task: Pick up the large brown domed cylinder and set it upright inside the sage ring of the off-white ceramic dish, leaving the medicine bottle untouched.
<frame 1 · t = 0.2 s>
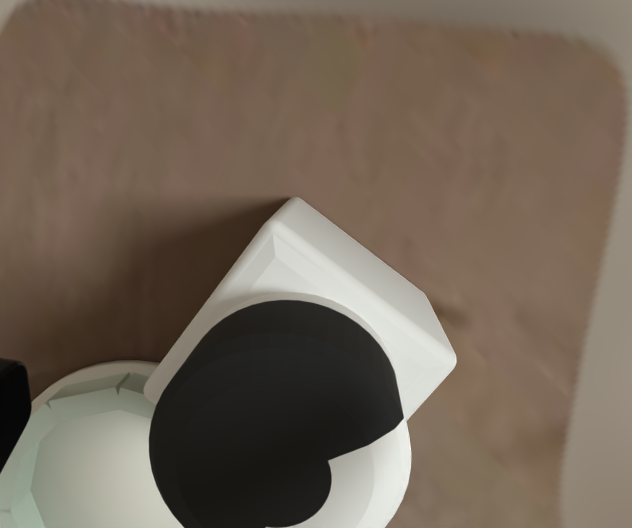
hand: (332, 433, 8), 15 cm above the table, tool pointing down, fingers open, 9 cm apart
ring dish: (143, 488, 26), on the table
medicine bottle: (311, 307, 24), on the table
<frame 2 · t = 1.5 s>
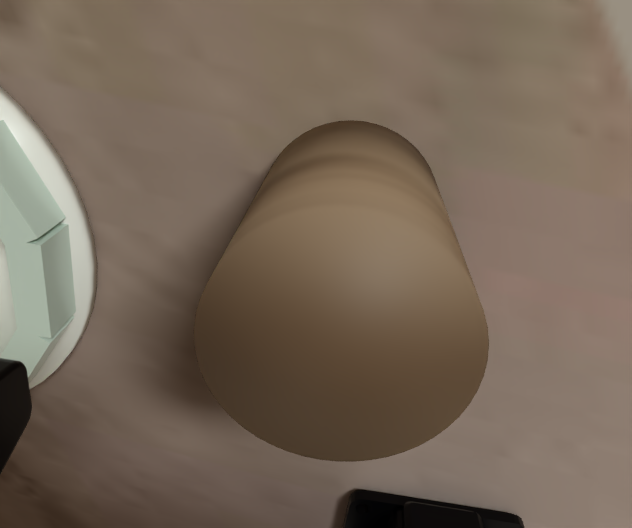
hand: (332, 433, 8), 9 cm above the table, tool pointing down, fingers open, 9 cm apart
brown domed cylinder: (349, 209, 16), on the table
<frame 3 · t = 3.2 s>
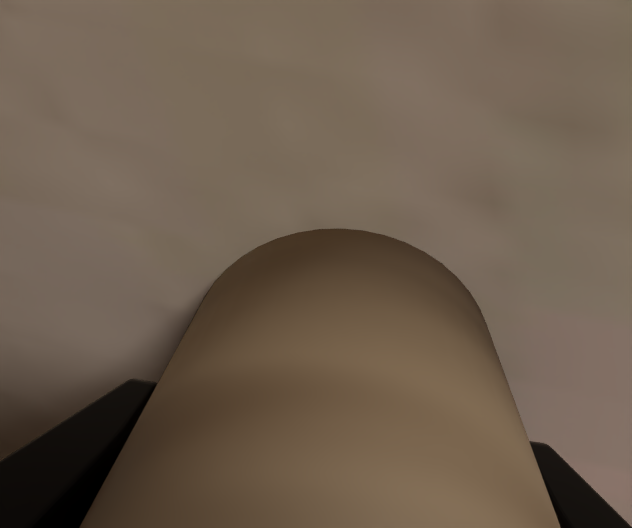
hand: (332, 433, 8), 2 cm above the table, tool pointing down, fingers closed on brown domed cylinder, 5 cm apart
brown domed cylinder: (338, 366, 9), on the table, touching gripper
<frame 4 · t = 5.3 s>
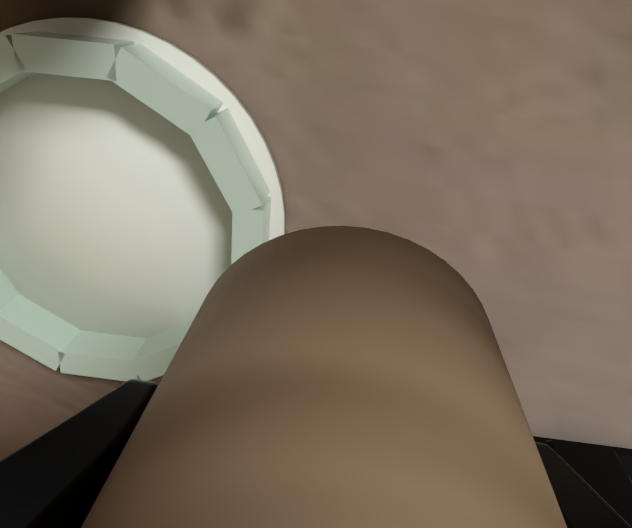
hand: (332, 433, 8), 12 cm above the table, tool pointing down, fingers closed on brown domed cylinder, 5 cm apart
ring dish: (110, 211, 20), on the table
brown domed cylinder: (340, 364, 9), point 11 cm above the table, touching gripper
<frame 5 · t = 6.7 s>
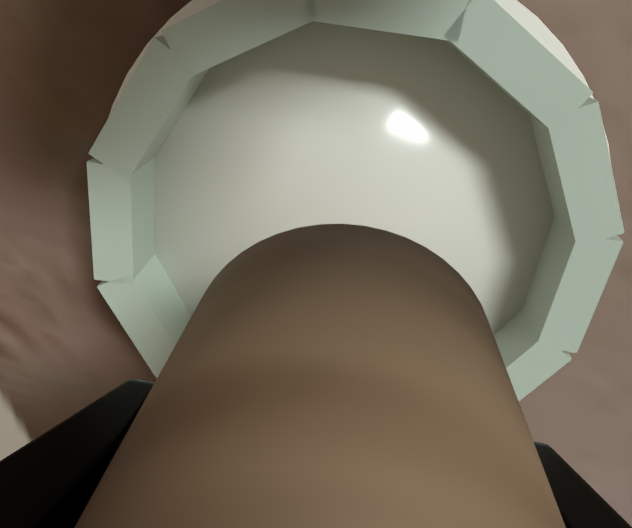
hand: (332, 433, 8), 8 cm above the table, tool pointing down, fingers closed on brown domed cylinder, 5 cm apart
ring dish: (345, 227, 15), on the table
brown domed cylinder: (338, 363, 9), point 6 cm above the table, touching gripper
when the fingers open (4 cm above the table, at t = 7.8 s): brown domed cylinder drops 1 cm, resting on ring dish.
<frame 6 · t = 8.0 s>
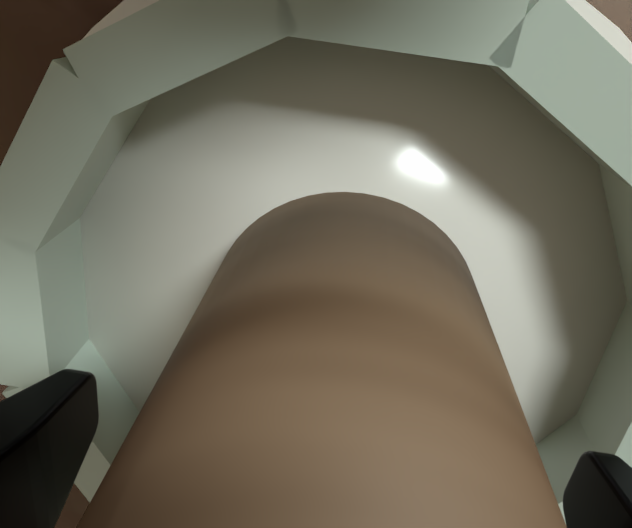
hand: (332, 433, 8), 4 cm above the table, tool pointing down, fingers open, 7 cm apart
ring dish: (341, 305, 11), on the table
brown domed cylinder: (343, 316, 10), point 1 cm above the table, touching ring dish
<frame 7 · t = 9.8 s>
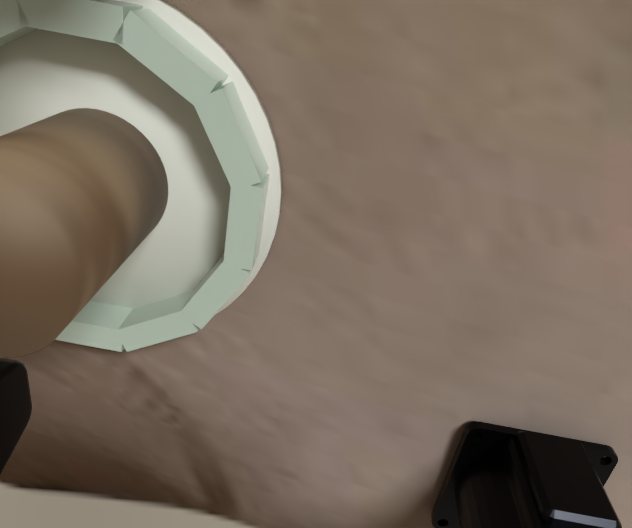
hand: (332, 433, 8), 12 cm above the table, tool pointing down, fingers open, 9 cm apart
ring dish: (104, 177, 20), on the table
brown domed cylinder: (98, 180, 19), point 1 cm above the table, touching ring dish
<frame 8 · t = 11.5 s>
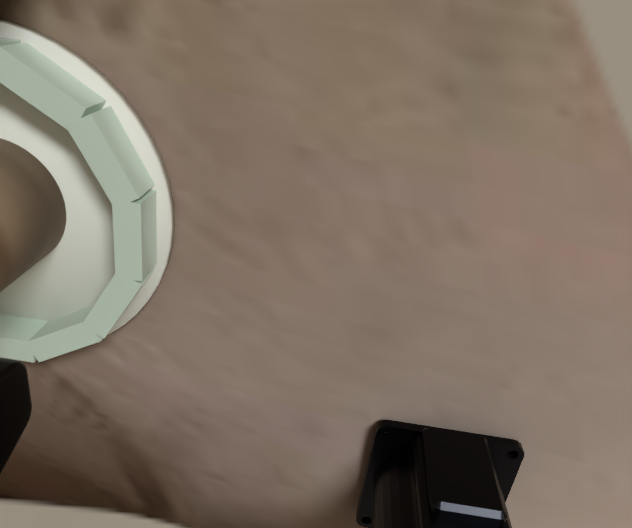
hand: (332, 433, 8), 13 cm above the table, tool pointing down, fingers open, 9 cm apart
ring dish: (9, 199, 21), on the table
brown domed cylinder: (1, 202, 20), point 1 cm above the table, touching ring dish
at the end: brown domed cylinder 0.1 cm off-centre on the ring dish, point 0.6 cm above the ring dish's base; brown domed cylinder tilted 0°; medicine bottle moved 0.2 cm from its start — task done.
